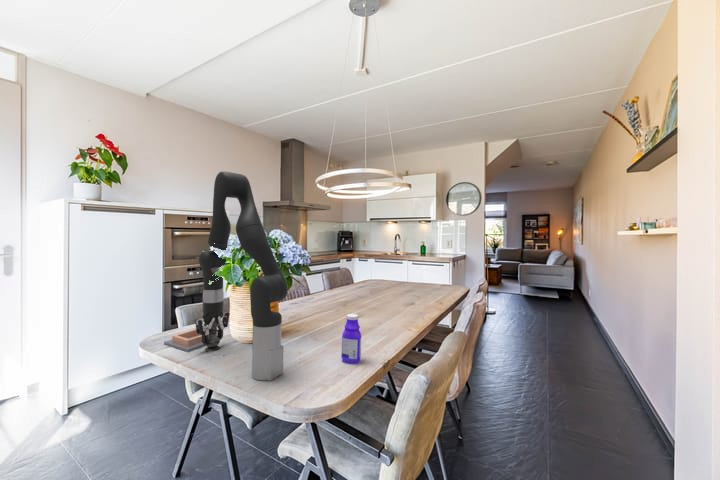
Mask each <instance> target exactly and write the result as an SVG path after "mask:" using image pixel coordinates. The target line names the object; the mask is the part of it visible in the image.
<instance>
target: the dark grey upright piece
mask: <svg viewBox="0 0 720 480" xmlns="http://www.w3.org/2000/svg"><path fill="white" fill-rule="evenodd" d="M217 331H218V328H217V323H214V324H213V325H212V327H211V329H210V330H209V336H208V344H206V346H205V347H206V348H205V351H206V352H215V351H218V350H220V349H221V347H220V346H219V345H220V342H221V340H222V339H221V338H218V337H217Z"/></svg>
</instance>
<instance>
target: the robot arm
mask: <svg viewBox="0 0 720 480" xmlns="http://www.w3.org/2000/svg"><path fill="white" fill-rule="evenodd" d="M213 184H214V186H213V197H212V198H213V199H212V201H213V202H212V219H211V226H210V231H209V235H208V238H207V244H208V246H210V247H211V248H214V249H217V250H218V249H221V250H226V248H227V245H228V246H229V243H228V242H229V239H230V235H231V230H232V229H231V222H230V218H229V216H228V214H227V209H226V200H227V198H231V199H232V198H233V199H237V200H238V202H239V206H240V213H239V216H238V218H237V221H236V224H235V233H236V236H237V238H238V242H239V244H240V246H241V249H242V250H243V251H244V252H245V253H246V254H247V255H248V256H249V257H250V258H251V259H252V260H253V261H255V263H256V264H257V265H258V266H259V268H260V269H261V271H262V273H263V275H262V276H257V277H255V278H253V280H252V282H251V283H250V287H249V288H250V289H249V294H250V296H249V297H250V315H251V320H252V345H251V346H252V347H251V349H252V350H251V354H252V355H251V377H252V378H253V379H254V380H256V381H269V382H270V381H273V380H274V379H276V378H277V377H279V376H281V375H283V374H284V345H282V321H283V320H282V319H283V318H282V314H281V313H280V312H277V311H274V310H272V308H271V307H272V306H271V304H272V303H277V302H280V301H283V300H285V298H286V297H287V295H288V291H289V290H288V282H287V280H286V277H285V276H284V274H283V272H282V270H281V268H280V265H279V263H278V262H277V260H276V257H275V255H274V253H273V251H272V248H271V245H270V243H269V242H270V241H268V237H267V233H266V231H265V228H264V225H263V222H262V220H261V218H260V216H259V213H258V209H257V206H256V204H255V200H254V199H255V198H254V195H253V191H252V186H251V183H250V180H249V179H248V177H247V176H246V175H244V174H241V173H236V172H230V171H223V170H222V171H220V172H218V173H217V174H216V177H215V180H214V183H213ZM214 243H215V244H214ZM212 246H213V247H212ZM214 251H215V250H203V251H202V252H200V254H199V256H198V263H199V267H200V269H201V274H202V278H203V292H202V312H203V313H202V314H203V315H202V317H201V318H199V319H196V318H195V320H194V323H195V329H196V332H197V334H200V335H202V343H203V344H208V335H207V334H208V332H209V330H210V329H211V327H212V325H213V324H214V323H217V330H218V331H217V337H218V338H221V340H222V339H223V337H224V329H225V328H228V327H229V321H230V312H227V311H224V307H225V306H224V305H225V303H224V301H225V300H224V299H225V298H224V297H225V295H224V294H225V293H224V277H223V278H222V277H219V276H217V275H216V276H215V273H214V272H213V271H212V269H217V268H220V267H221V266H222V265H224V264H225V262H226V259H222V258H219V257H218V255H217V254H216V253H215V252H214ZM221 268H222V267H221ZM213 274H214V275H213ZM212 275H213V276H212ZM218 277H219V278H218ZM216 278H218V279H219V280H218V279H216ZM215 279H216V280H217V281H216V280H215ZM209 280H210V281H214V282H212V284H211V285H209V284H208V283H209Z"/></svg>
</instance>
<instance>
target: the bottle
mask: <svg viewBox="0 0 720 480" xmlns="http://www.w3.org/2000/svg"><path fill="white" fill-rule="evenodd" d="M360 328H361V326H360V325H359V315H358V314H356V313H348V314H347V315H346V322H345V324H344V329H343V332H342V336H341V354H340V355H341V360H342V361H343V362H344V363H348V364H357V363H358V362H360V360H361V357H362V356H361V355H362V333H361V330H360Z"/></svg>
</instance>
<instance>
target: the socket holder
mask: <svg viewBox="0 0 720 480" xmlns="http://www.w3.org/2000/svg"><path fill="white" fill-rule="evenodd" d="M207 335H208V336H209V332H208V334H207ZM171 337H172V339H168V340H166V341H163V345H165V346H168V347H171V348H174V349H177V350H179V351H182V352H186V353H190V352H192V351H196V350H199V349H201V348H203V347H207V346H206V344H203V343H202V335H200V334H197V332H196V328H193V329H191V330H187V331H183V332H180V333H177V334H174V335H172V336H171Z"/></svg>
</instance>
